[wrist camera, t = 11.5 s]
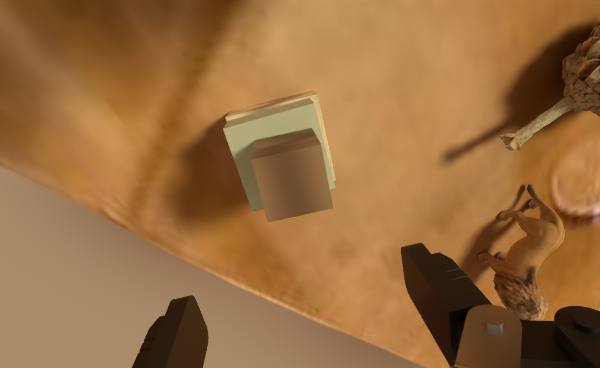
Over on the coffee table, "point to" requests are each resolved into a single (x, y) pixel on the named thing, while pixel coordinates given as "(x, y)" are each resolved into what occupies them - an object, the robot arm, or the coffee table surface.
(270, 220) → the walnut block
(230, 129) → the tower top
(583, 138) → the coffee table surface
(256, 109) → the block
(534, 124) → the pine cone
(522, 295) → the lion figurine
